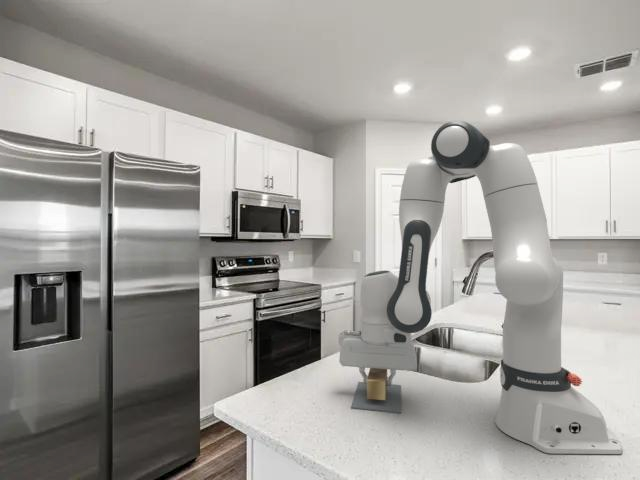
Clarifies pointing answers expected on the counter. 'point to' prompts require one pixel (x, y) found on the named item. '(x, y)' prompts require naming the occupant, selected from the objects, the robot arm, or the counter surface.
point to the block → (376, 384)
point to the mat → (387, 405)
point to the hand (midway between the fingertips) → (377, 384)
